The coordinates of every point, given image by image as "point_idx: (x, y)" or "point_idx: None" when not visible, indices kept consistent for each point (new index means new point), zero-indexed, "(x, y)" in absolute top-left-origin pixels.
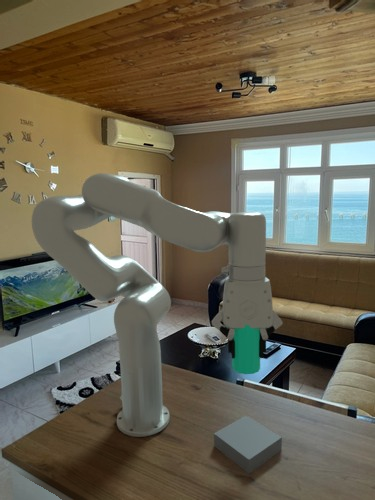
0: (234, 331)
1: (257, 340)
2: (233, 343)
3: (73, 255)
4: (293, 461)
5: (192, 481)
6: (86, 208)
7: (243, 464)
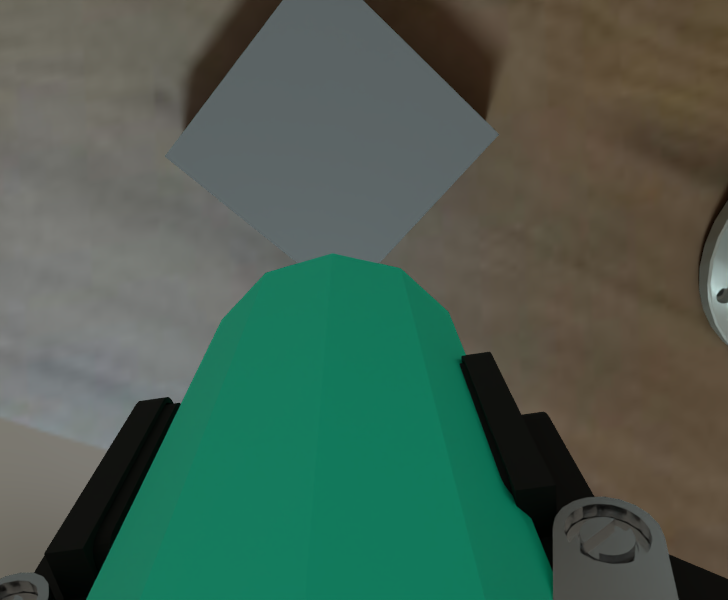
0: None
1: (129, 530)
2: (520, 461)
3: None
4: (128, 82)
5: None
6: None
7: None
